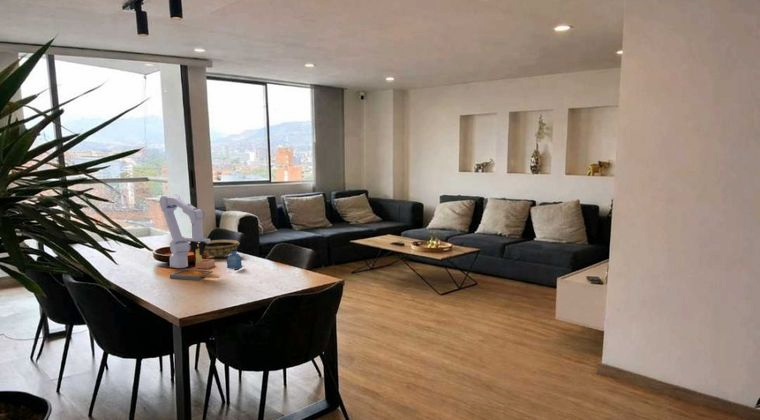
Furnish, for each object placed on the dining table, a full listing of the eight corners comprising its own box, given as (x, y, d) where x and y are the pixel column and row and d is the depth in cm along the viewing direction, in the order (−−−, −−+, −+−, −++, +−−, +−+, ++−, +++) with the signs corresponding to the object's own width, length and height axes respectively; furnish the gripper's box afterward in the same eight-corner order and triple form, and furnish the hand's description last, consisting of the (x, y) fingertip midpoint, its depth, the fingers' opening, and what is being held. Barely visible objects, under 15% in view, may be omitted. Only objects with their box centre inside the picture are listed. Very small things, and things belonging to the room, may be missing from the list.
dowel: (194, 262, 280) (194, 249, 279) (198, 261, 283) (197, 248, 282) (199, 263, 279) (199, 250, 278) (203, 261, 282) (202, 248, 281)
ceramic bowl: (230, 251, 339) (229, 237, 338) (250, 256, 323) (249, 241, 322) (188, 258, 317) (187, 243, 316) (207, 264, 301) (206, 248, 300)
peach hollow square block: (195, 270, 287) (195, 261, 287) (203, 267, 295) (203, 259, 294) (207, 271, 285) (207, 262, 285) (215, 268, 293) (214, 259, 292)
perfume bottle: (241, 267, 294) (240, 247, 292) (237, 270, 288) (236, 250, 286) (231, 267, 294) (230, 247, 293) (227, 270, 288) (226, 249, 287)
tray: (170, 278, 270) (169, 274, 270) (184, 272, 283) (184, 268, 282) (199, 280, 266) (198, 276, 265) (212, 274, 278) (212, 270, 278)
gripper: (181, 231, 277) (183, 255, 278) (204, 232, 273) (206, 256, 275) (189, 229, 283) (190, 253, 285) (212, 230, 280) (213, 254, 282)
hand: (198, 254), depth 280 cm, fingers closed on dowel, 3 cm apart
